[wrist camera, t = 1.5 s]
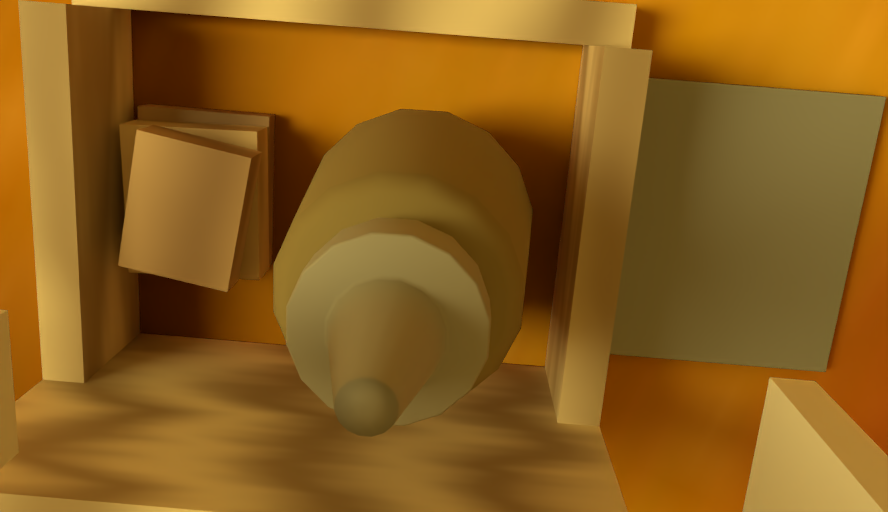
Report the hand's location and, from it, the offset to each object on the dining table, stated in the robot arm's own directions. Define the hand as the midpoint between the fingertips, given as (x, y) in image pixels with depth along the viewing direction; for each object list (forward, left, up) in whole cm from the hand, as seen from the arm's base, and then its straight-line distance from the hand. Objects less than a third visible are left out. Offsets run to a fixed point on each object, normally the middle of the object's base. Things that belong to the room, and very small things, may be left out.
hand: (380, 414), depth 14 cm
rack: (-3, 0, -18) cm, 19 cm away
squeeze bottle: (0, 0, -19) cm, 19 cm away
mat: (+12, 0, -18) cm, 22 cm away
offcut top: (-9, 0, -16) cm, 18 cm away
